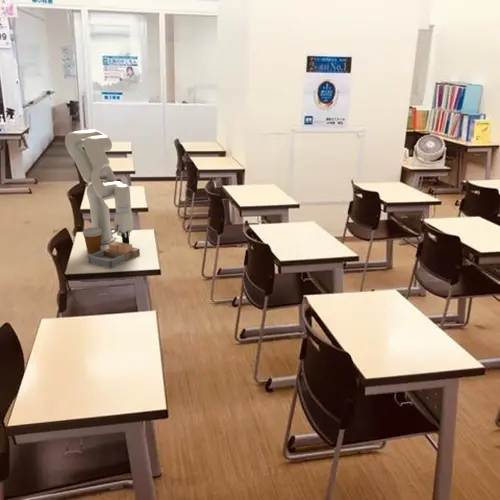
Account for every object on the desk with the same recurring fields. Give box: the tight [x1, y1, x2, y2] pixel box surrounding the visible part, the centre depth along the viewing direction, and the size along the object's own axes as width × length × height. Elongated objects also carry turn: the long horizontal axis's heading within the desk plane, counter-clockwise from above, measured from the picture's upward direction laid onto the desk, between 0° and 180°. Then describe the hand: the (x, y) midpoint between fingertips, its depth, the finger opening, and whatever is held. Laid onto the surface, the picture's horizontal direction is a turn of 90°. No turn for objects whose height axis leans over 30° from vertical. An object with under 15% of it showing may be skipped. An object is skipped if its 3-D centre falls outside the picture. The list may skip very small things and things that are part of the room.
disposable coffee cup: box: [82, 227, 102, 255], centre depth 270 cm, size 10×10×12 cm
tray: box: [87, 249, 126, 269], centre depth 260 cm, size 10×14×4 cm
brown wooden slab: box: [103, 246, 140, 262], centre depth 269 cm, size 11×14×3 cm
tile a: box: [108, 240, 123, 251], centre depth 268 cm, size 5×5×3 cm
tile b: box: [118, 243, 133, 253], centre depth 266 cm, size 5×5×3 cm
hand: (125, 244), depth 275 cm, fingers closed
